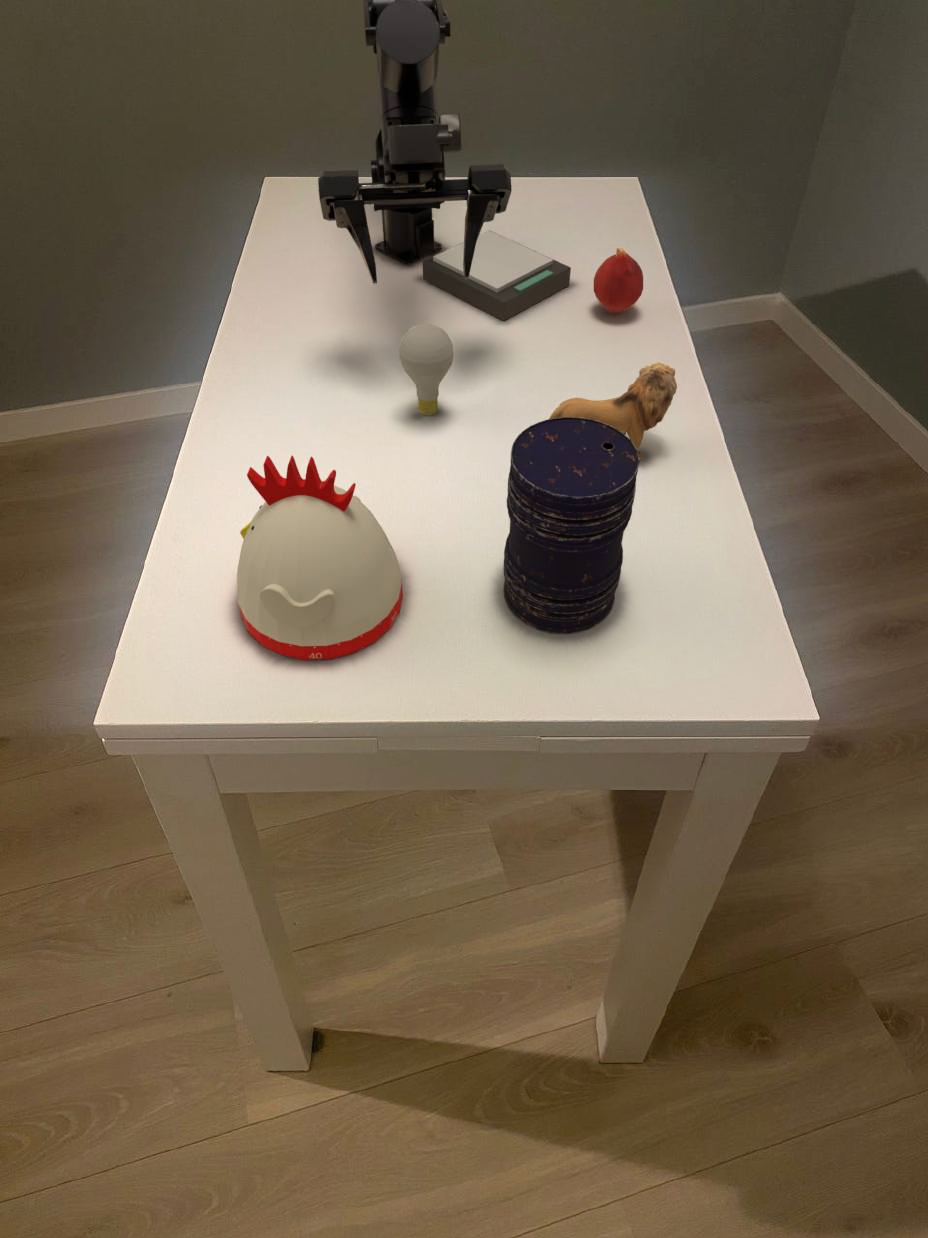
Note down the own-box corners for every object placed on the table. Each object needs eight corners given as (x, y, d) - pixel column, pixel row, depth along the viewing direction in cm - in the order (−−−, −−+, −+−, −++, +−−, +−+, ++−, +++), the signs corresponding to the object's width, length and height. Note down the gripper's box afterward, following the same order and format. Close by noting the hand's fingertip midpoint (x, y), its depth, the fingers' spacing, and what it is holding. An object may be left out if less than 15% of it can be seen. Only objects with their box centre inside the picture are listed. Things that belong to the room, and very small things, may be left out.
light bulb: (461, 403, 100) (461, 318, 92) (443, 432, 96) (442, 347, 89) (413, 393, 101) (409, 309, 94) (394, 422, 97) (389, 336, 90)
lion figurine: (650, 424, 97) (665, 348, 91) (675, 454, 94) (692, 377, 87) (520, 454, 94) (525, 377, 87) (541, 486, 91) (548, 408, 84)
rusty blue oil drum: (532, 649, 77) (545, 512, 66) (483, 571, 83) (487, 434, 72) (637, 614, 80) (666, 477, 68) (582, 541, 86) (601, 404, 74)
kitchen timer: (263, 537, 86) (234, 399, 75) (412, 548, 85) (405, 410, 74) (222, 652, 76) (181, 515, 65) (388, 666, 76) (376, 529, 64)
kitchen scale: (422, 279, 118) (422, 256, 115) (488, 247, 123) (489, 225, 121) (503, 321, 111) (504, 297, 109) (569, 285, 117) (571, 262, 114)
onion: (638, 301, 114) (648, 237, 108) (639, 326, 110) (649, 261, 104) (590, 298, 115) (597, 235, 109) (590, 323, 111) (597, 258, 105)
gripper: (307, 80, 84) (321, 256, 85) (513, 73, 85) (524, 247, 86) (317, 138, 95) (329, 293, 96) (499, 131, 96) (509, 285, 97)
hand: (421, 279), depth 93 cm, fingers open, 9 cm apart
